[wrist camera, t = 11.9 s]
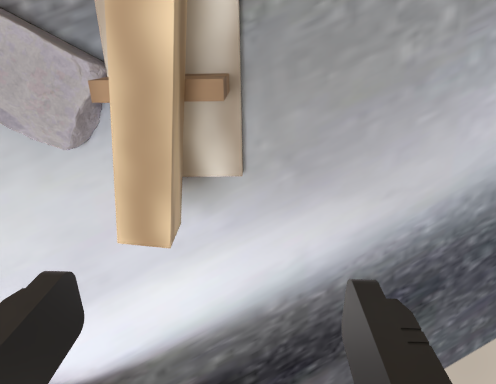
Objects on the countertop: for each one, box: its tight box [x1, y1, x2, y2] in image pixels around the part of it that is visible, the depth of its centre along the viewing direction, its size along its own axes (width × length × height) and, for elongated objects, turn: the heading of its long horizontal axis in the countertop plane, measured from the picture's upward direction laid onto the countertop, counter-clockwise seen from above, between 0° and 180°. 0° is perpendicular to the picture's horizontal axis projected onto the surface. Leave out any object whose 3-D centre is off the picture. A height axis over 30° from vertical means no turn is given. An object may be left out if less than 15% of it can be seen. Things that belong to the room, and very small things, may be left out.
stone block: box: [0, 8, 107, 150], centre depth 31 cm, size 12×5×10 cm
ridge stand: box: [88, 0, 243, 177], centre depth 29 cm, size 12×18×8 cm, turn 1°
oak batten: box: [104, 0, 187, 248], centre depth 23 cm, size 4×22×4 cm, turn 174°
